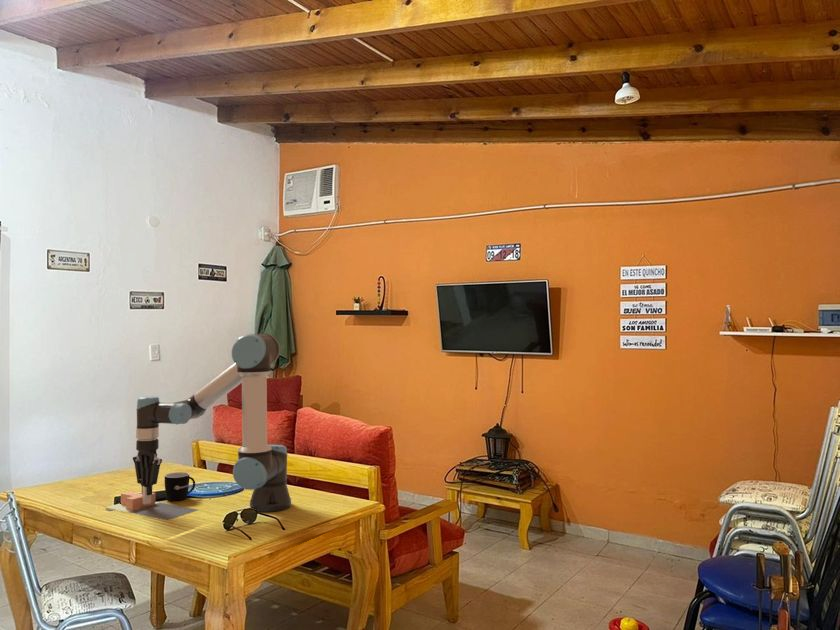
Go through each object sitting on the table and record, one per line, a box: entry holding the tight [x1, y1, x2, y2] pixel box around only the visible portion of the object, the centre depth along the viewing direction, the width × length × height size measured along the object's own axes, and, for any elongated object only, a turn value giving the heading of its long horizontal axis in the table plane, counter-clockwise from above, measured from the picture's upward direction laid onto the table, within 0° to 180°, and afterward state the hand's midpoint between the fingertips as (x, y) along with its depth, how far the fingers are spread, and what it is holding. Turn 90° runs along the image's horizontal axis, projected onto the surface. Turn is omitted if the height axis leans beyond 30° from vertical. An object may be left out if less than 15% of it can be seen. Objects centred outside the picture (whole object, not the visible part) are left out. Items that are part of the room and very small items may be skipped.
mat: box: [105, 501, 198, 521], centre depth 235 cm, size 32×14×1 cm, turn 63°
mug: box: [164, 471, 196, 503], centre depth 249 cm, size 12×9×10 cm
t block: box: [120, 491, 156, 511], centre depth 239 cm, size 10×10×4 cm
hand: (146, 503), depth 236 cm, fingers closed
